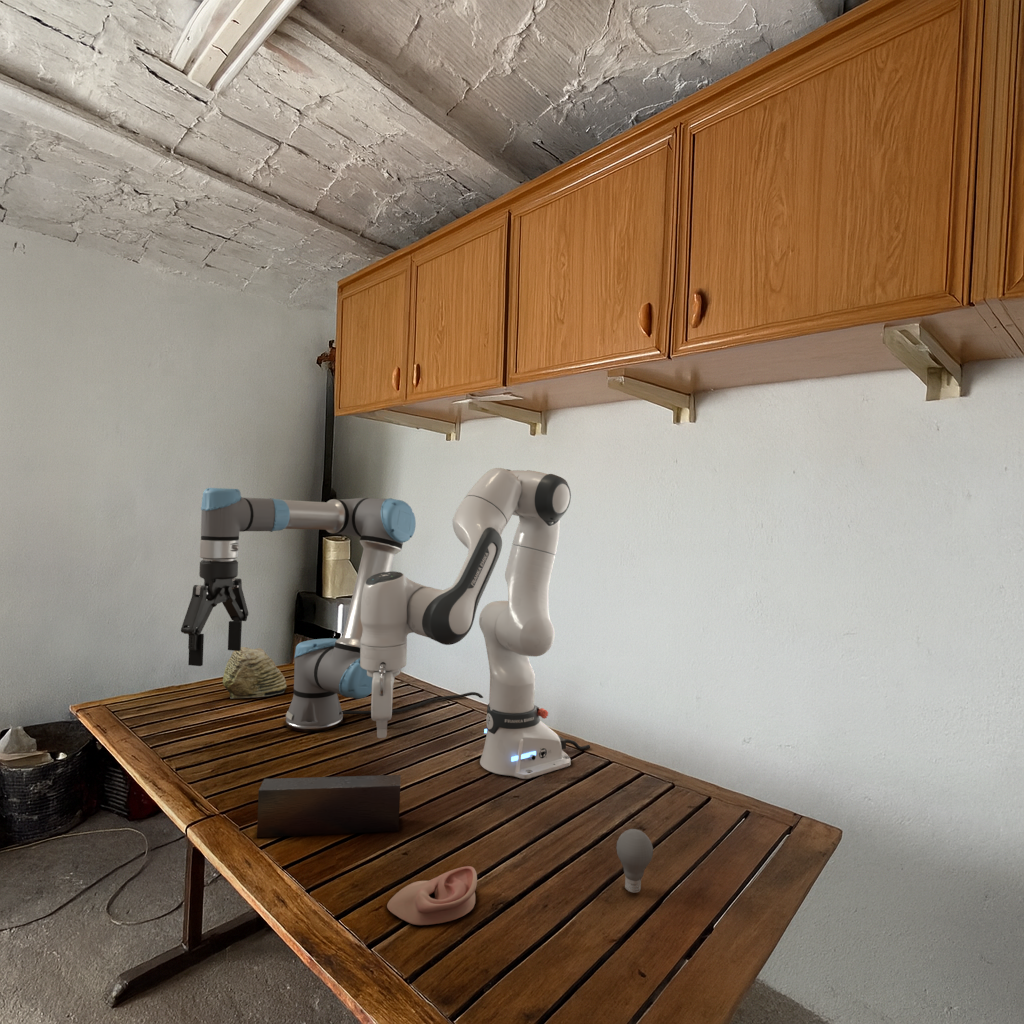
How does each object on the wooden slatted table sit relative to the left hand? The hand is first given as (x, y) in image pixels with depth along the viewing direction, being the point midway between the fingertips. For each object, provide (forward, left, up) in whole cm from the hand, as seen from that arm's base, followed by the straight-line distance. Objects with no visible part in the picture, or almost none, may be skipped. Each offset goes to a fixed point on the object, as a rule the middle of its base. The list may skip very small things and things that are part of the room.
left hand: (215, 657), depth 137 cm
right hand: (-14, +40, -8) cm, 43 cm away
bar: (-7, +34, -28) cm, 44 cm away
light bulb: (-29, +87, -28) cm, 95 cm away
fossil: (-38, -50, -28) cm, 68 cm away
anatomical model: (-4, +64, -28) cm, 70 cm away
